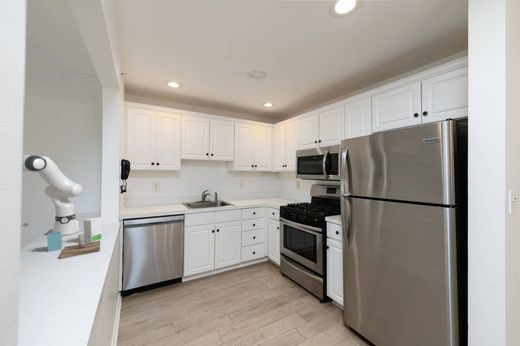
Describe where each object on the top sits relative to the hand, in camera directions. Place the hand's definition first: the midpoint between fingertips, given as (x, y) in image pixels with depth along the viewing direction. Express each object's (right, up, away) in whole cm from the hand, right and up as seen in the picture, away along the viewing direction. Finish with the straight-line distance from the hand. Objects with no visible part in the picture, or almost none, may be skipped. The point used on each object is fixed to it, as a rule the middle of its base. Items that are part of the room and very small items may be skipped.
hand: (26, 226), depth 133 cm
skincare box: (+24, -16, +22) cm, 36 cm away
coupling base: (+29, -16, +5) cm, 34 cm away
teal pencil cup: (+10, -16, +8) cm, 21 cm away
